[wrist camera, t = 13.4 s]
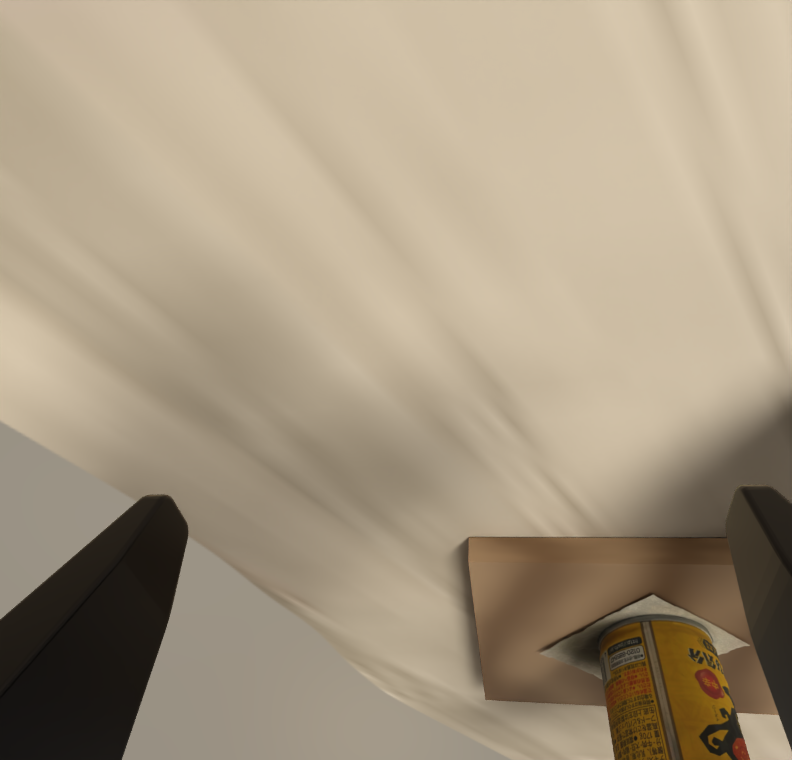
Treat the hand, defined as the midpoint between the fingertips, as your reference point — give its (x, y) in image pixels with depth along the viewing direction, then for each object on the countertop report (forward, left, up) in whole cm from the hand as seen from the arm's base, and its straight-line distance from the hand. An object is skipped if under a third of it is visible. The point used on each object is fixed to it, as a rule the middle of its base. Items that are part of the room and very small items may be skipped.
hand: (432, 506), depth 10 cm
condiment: (-8, +27, -12) cm, 30 cm away
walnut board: (-8, +27, -13) cm, 31 cm away
